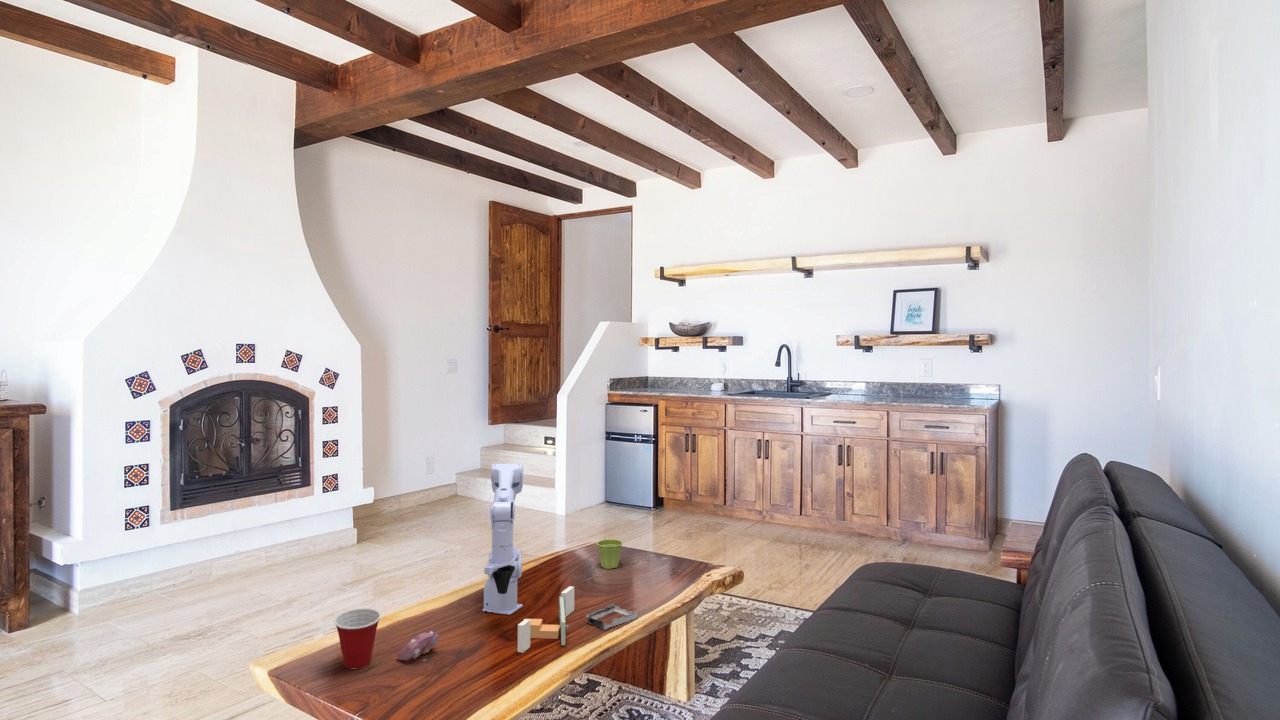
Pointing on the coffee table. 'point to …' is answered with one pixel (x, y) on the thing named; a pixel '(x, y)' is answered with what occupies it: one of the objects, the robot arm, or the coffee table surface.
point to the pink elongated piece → (418, 645)
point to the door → (562, 619)
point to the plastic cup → (357, 635)
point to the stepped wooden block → (543, 630)
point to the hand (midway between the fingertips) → (502, 593)
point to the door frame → (525, 625)
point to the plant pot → (609, 553)
